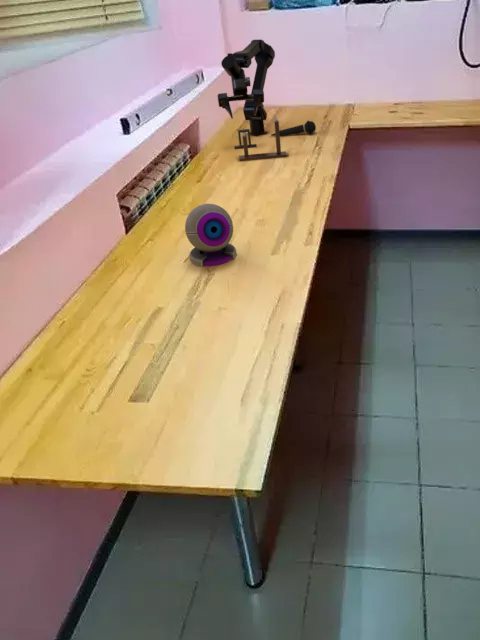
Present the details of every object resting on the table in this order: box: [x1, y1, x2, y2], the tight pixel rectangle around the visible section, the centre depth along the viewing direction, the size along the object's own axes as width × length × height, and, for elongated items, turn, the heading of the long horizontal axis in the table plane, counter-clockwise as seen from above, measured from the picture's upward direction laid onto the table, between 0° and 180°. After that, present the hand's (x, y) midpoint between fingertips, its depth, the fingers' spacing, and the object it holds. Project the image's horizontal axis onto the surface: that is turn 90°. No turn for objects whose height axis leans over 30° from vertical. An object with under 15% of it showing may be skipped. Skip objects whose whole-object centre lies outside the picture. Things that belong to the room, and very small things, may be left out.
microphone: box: [270, 120, 317, 137], centre depth 273 cm, size 6×6×20 cm
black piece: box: [233, 128, 258, 150], centre depth 248 cm, size 2×9×7 cm, turn 96°
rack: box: [238, 115, 288, 162], centre depth 246 cm, size 8×19×14 cm, turn 96°
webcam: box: [184, 203, 238, 267], centre depth 169 cm, size 13×13×15 cm
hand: (243, 117), depth 250 cm, fingers open, 9 cm apart
